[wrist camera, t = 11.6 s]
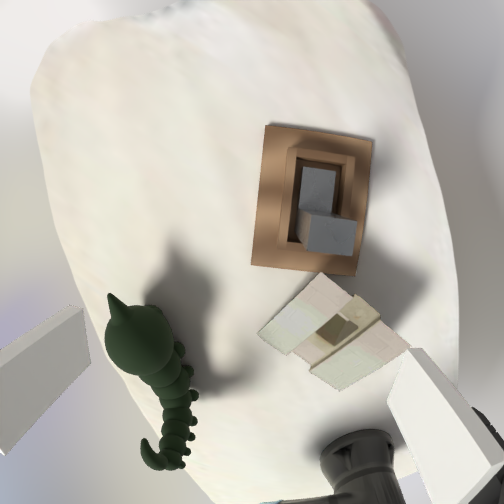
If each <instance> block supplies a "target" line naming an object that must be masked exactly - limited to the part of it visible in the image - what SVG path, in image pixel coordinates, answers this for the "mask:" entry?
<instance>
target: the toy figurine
mask: <svg viewBox="0 0 504 504" xmlns="http://www.w3.org/2000/svg"><path fill="white" fill-rule="evenodd" d="M107 298H108V304H109V309H110V314H111V319H110V320H109V322H108V324H107V327H106V330H105V346H106V350H107V353H108V355H109V357H110V358H111V360H112V361H113V362H114V363H115V364H116V365H117V367H119V368H120V369H122V370H123V371H125V372H127V373H130V374H133V375H138V376H139V378H140V379H141V380H142V381H143V382H145V383H146V384H148V385H150V386H151V388H152V390H153V391H154V393H155V394H156V395H157V396H158V397H159V400H160V403H161V405H162V407H163V408H164V410H163V415H162V416H163V421H164V423H163V426H162V429H161V433H162V435H163V437H162V438H161V440H160V441H159V448H160V452H159V453H158V454H157V453H155V452H154V451H153V450H152V448H151V447H150V445H149V443H148V440H147V439H145V438H143V439H142V440H141V448H140V449H141V456H142V458H143V460H144V462H145V463H146V464H147V466H149V467H150V468H152V469H154V470H159V471H160V470H164V469H166V470H171V471H172V470H176V469H178V468H180V469H183V468H185V466H186V464H185V462H183V461H182V456H183V455H185V456H189V455H190V454H191V450H190V449H189V448H187V447H186V443H185V442H186V441H187V440H188V441H193V440H195V435H194V433H192V432H190V430H189V426H195V425H196V424H197V423H198V421H197V418H196V417H195V416H192V412H191V410H190V408H189V407H190V406H191V402H192V401H196V400H197V399H198V398H199V394H198V392H197V391H196V390H194V389H190V390H189V387H190V379H189V378H191V377H192V376H193V375H194V370H193V368H192V367H191V366H184V367H182V366H181V361H180V359H181V358H182V357H183V356H184V354H185V348H184V346H183V345H182V344H181V343H179V342H174V339H173V334H172V331H171V328H170V326H169V324H168V322H167V320H166V319H165V318H164V316H163V314H162V311H161V310H160V309H159V308H158V307H156V306H154V305H148V306H140V305H134V306H127V305H125V304H124V303H123V302H122V301H120V300H119V299H118V298H117V297H115V296H114V295H113V294H111V293H108V295H107Z"/></svg>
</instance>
